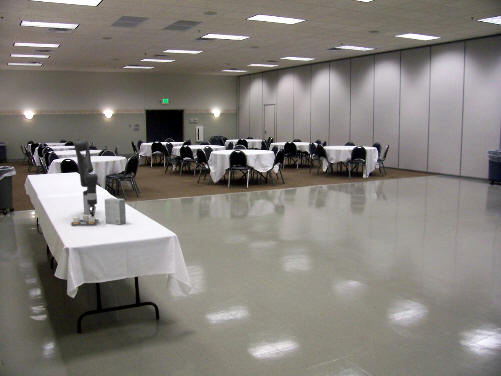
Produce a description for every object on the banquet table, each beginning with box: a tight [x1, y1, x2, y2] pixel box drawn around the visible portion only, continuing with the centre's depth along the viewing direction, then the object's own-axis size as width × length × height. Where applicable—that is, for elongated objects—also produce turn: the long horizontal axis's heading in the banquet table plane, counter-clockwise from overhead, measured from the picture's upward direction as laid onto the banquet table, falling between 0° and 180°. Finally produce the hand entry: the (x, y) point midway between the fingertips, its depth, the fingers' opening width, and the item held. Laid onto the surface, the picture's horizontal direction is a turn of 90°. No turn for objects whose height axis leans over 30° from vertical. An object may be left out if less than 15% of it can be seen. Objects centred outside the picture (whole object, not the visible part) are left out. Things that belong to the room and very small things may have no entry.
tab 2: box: [82, 214, 90, 222], centre depth 400 cm, size 4×4×5 cm
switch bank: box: [70, 218, 100, 227], centre depth 398 cm, size 12×19×3 cm, turn 96°
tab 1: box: [72, 216, 81, 222], centre depth 393 cm, size 4×4×5 cm
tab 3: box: [89, 215, 96, 222], centre depth 395 cm, size 4×4×5 cm
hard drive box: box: [104, 197, 127, 225], centre depth 401 cm, size 16×8×20 cm, turn 65°
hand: (93, 219), depth 399 cm, fingers closed
